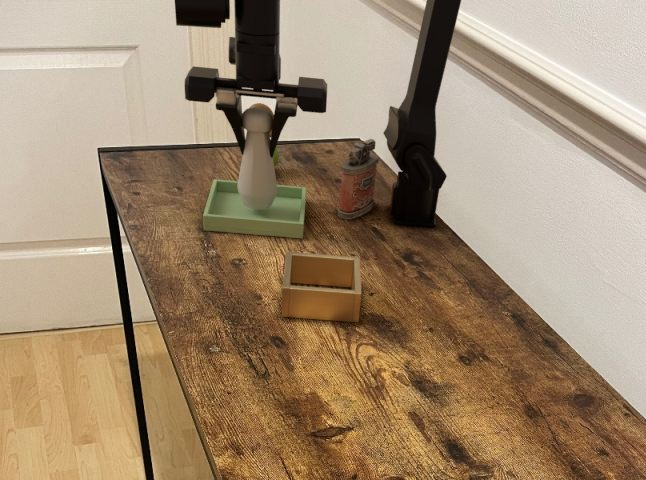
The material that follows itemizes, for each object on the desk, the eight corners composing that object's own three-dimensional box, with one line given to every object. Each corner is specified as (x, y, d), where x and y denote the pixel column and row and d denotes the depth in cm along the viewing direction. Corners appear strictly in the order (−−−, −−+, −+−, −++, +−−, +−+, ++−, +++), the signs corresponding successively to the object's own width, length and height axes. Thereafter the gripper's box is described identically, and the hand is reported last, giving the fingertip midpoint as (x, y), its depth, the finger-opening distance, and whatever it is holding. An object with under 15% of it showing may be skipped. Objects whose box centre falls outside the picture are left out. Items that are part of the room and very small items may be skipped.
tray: (305, 201, 122) (306, 187, 120) (302, 238, 113) (303, 223, 111) (214, 193, 121) (213, 178, 119) (203, 230, 111) (202, 215, 110)
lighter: (351, 221, 118) (357, 153, 111) (332, 214, 120) (337, 146, 113) (378, 205, 124) (385, 139, 117) (360, 199, 125) (366, 133, 118)
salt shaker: (258, 215, 113) (258, 120, 104) (229, 203, 115) (226, 108, 106) (285, 205, 116) (287, 112, 107) (256, 192, 118) (256, 100, 109)
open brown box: (357, 285, 104) (360, 257, 101) (358, 322, 97) (361, 293, 95) (285, 279, 103) (286, 251, 101) (281, 317, 96) (282, 287, 94)
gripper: (330, 22, 106) (324, 141, 117) (192, 7, 105) (198, 130, 116) (329, 43, 98) (323, 169, 109) (180, 28, 97) (188, 157, 108)
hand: (257, 155), depth 111 cm, fingers closed on salt shaker, 3 cm apart
